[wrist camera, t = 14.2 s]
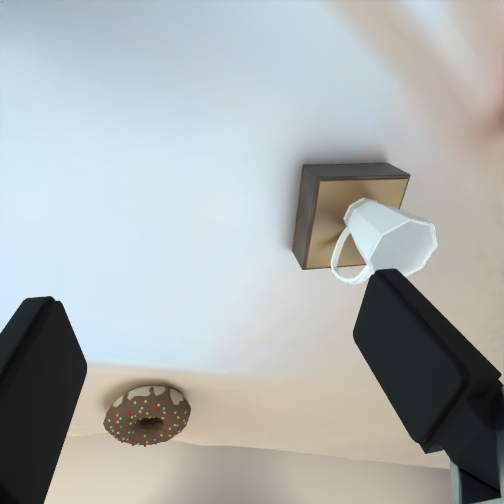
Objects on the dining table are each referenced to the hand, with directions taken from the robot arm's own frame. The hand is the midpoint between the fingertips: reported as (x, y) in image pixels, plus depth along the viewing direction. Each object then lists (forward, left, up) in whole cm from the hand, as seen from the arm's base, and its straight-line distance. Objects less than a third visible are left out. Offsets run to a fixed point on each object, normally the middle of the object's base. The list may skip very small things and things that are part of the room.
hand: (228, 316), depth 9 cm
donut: (+46, -12, -26) cm, 54 cm away
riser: (+9, +17, -26) cm, 33 cm away
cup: (+9, +17, -22) cm, 29 cm away
